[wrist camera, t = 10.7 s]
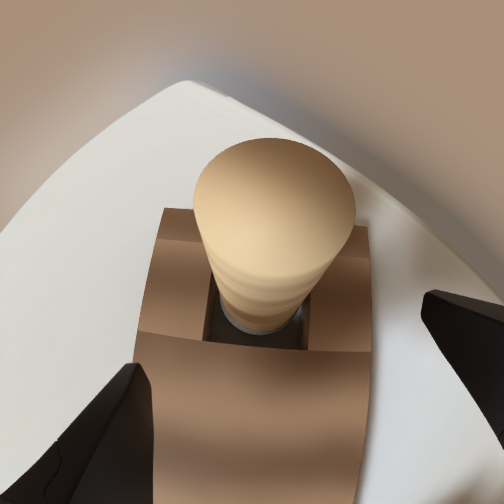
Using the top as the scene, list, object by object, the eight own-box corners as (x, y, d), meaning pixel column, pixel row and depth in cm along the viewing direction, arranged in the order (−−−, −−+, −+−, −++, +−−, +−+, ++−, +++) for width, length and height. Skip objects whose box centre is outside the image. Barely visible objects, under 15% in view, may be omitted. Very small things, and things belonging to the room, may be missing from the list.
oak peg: (268, 353, 17) (312, 319, 6) (211, 317, 18) (151, 219, 7) (303, 297, 19) (381, 180, 7) (247, 264, 20) (249, 116, 8)
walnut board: (327, 536, 11) (338, 555, 9) (140, 519, 12) (126, 536, 9) (352, 246, 20) (367, 226, 17) (174, 229, 20) (164, 207, 18)
